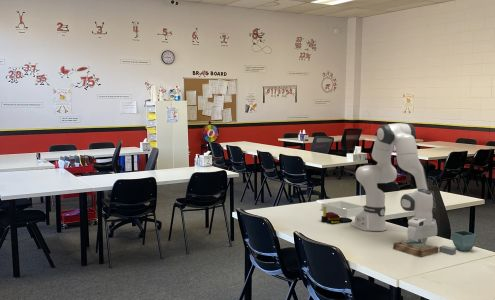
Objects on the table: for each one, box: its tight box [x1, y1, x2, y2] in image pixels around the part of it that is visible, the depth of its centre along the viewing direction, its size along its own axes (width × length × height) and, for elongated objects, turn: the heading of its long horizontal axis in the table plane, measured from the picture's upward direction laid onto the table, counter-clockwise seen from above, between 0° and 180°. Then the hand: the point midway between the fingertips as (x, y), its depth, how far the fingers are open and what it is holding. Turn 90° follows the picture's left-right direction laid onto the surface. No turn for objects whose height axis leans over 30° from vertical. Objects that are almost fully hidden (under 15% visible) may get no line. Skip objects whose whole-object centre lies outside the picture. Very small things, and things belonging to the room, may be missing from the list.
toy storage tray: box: [321, 200, 365, 218], centre depth 338 cm, size 25×19×6 cm
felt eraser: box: [438, 245, 457, 256], centre depth 249 cm, size 7×4×3 cm, turn 37°
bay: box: [392, 239, 440, 258], centre depth 252 cm, size 17×14×3 cm
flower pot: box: [451, 230, 477, 252], centre depth 254 cm, size 9×9×9 cm
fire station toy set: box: [321, 207, 353, 225], centre depth 312 cm, size 14×20×11 cm
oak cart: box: [401, 239, 428, 250], centre depth 252 cm, size 10×8×5 cm
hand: (422, 246), depth 255 cm, fingers closed
